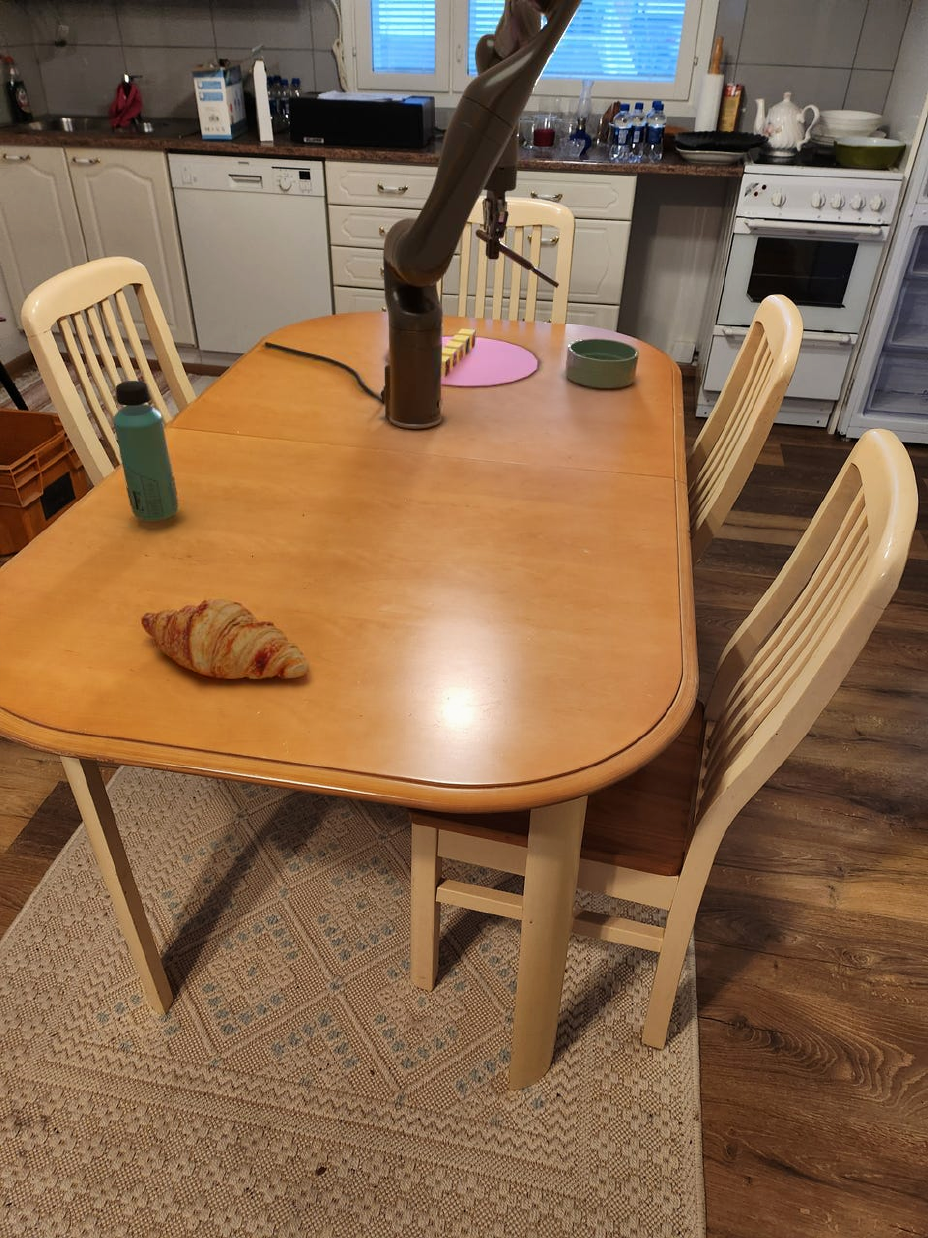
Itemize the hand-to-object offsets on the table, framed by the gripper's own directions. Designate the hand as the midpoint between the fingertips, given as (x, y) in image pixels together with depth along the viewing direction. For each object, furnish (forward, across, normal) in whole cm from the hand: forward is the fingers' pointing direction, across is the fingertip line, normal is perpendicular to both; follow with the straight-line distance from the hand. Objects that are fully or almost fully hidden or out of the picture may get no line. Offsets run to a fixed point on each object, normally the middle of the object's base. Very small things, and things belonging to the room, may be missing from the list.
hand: (492, 257), depth 174 cm
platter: (+21, 0, -5) cm, 21 cm away
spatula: (+1, 0, +6) cm, 6 cm away
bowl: (+21, +13, +21) cm, 32 cm away
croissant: (+22, +99, -50) cm, 113 cm away
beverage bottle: (+22, +65, -61) cm, 92 cm away
